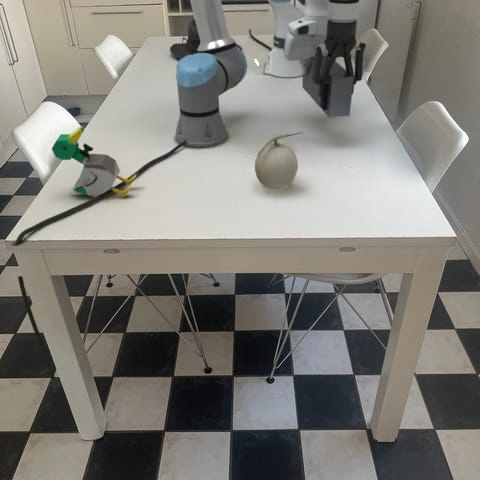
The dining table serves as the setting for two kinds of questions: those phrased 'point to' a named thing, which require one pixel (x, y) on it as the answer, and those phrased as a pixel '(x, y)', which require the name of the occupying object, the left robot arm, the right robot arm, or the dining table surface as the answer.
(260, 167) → the fruit
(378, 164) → the dining table surface
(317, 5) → the right robot arm
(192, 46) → the hat
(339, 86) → the box
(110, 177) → the toy
